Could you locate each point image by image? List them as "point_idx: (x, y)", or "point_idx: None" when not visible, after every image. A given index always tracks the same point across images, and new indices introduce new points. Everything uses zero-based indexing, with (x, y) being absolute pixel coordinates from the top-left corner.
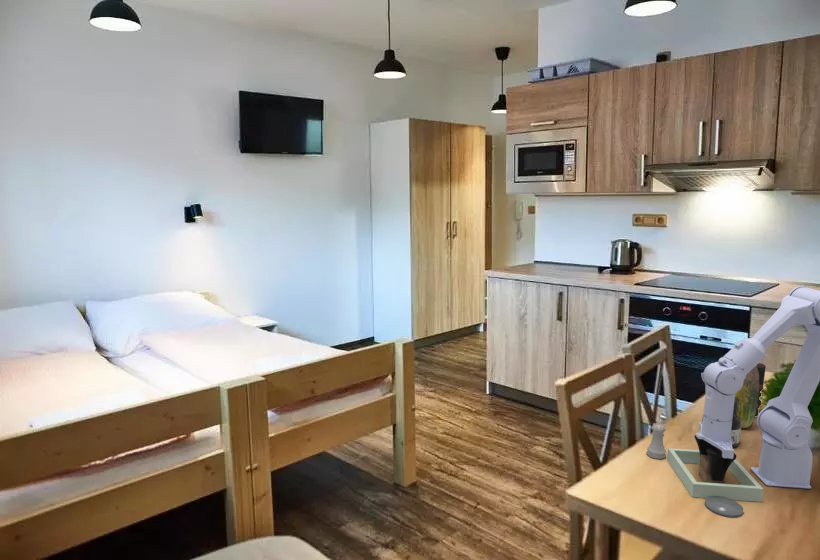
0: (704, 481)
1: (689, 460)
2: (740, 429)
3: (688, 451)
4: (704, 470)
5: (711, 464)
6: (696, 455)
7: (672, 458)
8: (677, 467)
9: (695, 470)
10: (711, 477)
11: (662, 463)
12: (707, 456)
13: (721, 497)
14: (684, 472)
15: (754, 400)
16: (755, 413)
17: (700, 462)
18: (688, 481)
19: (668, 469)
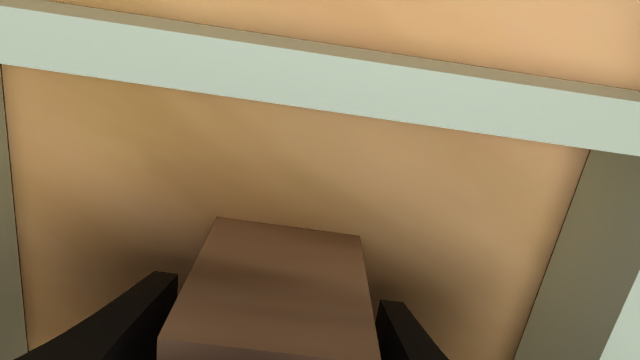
0: (231, 222)
1: (563, 267)
2: None
3: (622, 305)
4: (239, 271)
5: (49, 355)
6: (572, 347)
7: (557, 85)
8: (378, 56)
9: (429, 245)
10: (164, 278)
11: (596, 9)
12: None
13: None
14: (143, 25)
15: None
16: None
17: (357, 303)
18: (16, 4)
19: (471, 13)
